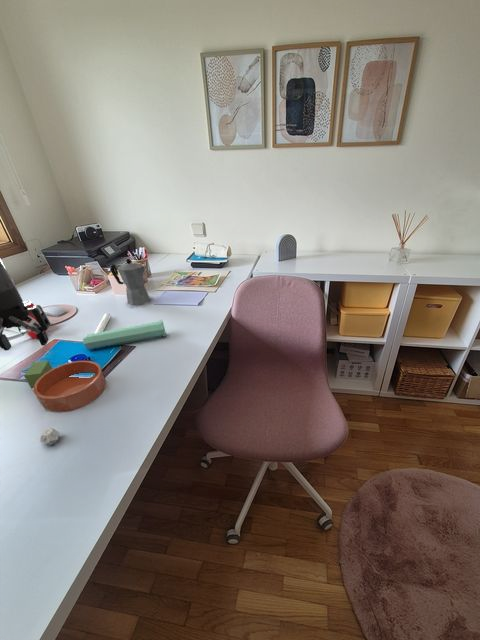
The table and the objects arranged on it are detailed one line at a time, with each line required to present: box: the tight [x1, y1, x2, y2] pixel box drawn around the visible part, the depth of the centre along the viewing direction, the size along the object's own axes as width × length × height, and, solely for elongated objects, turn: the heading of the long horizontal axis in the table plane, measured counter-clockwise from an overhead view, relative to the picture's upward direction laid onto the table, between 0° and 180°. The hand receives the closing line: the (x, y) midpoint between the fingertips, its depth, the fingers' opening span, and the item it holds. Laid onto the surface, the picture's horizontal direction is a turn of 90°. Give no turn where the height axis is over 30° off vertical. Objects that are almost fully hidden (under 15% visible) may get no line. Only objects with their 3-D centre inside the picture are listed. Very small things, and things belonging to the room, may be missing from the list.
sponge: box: [23, 360, 54, 389], centre depth 83 cm, size 4×6×4 cm, turn 13°
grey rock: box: [39, 427, 60, 446], centre depth 65 cm, size 4×4×3 cm
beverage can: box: [23, 300, 47, 340], centre depth 101 cm, size 5×5×12 cm
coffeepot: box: [109, 258, 150, 306], centre depth 123 cm, size 15×9×18 cm, turn 82°
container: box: [82, 319, 167, 351], centre depth 99 cm, size 6×6×25 cm
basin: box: [33, 360, 107, 413], centre depth 79 cm, size 15×15×4 cm
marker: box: [94, 312, 111, 333], centre depth 109 cm, size 18×2×2 cm, turn 11°
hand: (26, 346), depth 78 cm, fingers open, 8 cm apart
